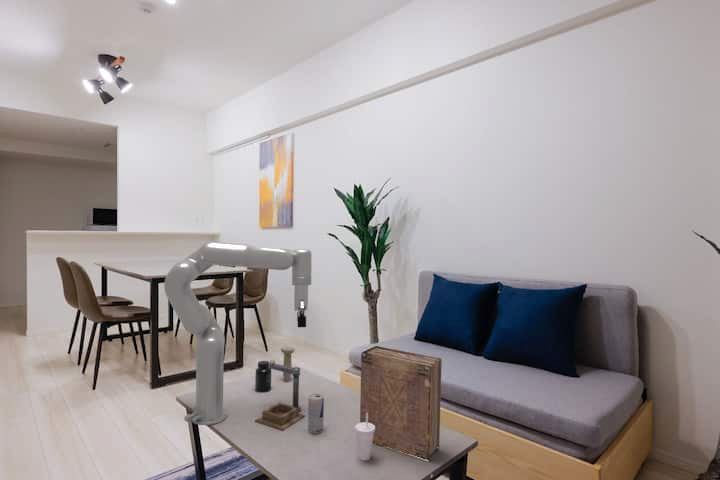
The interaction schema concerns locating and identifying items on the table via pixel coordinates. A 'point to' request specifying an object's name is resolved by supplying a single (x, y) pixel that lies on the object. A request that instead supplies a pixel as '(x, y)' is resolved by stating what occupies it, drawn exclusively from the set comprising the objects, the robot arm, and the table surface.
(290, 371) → the lever
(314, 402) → the energy drink
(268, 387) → the supplement bottle
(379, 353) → the book
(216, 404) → the robot arm
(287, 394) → the table surface
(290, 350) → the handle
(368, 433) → the smoothie
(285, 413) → the collar base
